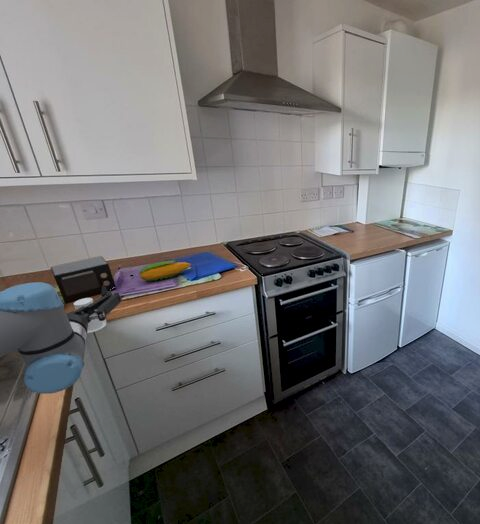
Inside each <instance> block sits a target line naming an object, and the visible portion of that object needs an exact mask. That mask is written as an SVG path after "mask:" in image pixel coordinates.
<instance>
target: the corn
mask: <svg viewBox="0 0 480 524" xmlns="http://www.w3.org/2000/svg"><path fill="white" fill-rule="evenodd" d="M191 265H192V264H191V263H189V262H185V261H183V262H182V261H181V262H177V260H165V261H160V262H156V263H152V264H148V265H146V266H144V267H143V268H142V269H141V270H140V272H139V277H140V279H142V280H143V281H147V282H155V281H160V280H164V279H163V278H165V279H169V278H173V277H176V276H177V275H178V274H180V273H182V272H184V271H186V270H188V269H189V268H191ZM168 277H169V278H168ZM158 279H160V280H158ZM153 280H154V281H153Z"/></svg>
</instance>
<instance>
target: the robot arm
mask: <svg viewBox="0 0 480 524" xmlns="http://www.w3.org/2000/svg"><path fill="white" fill-rule="evenodd" d="M100 296H101V297H99V298H98V299H96V300H93V303H91V304H89V305H88V306H86V307H85V306H82V307H81V308H79V309H77V310H76V309H75V310H72V311H70V312H66V309H65V305H64V303H63V302H64V301H62V300H61V298H60V296H59V293H58V292H57V290H56V289H55V287H54V286H53V285H51V284H50V283H46V282H40V281H38V282H37V281H36V282H26V283H21V284H17V285H13V286H10V287H8V288H5V289H4V290H1V291H0V358H1V357H4V356H6V355H8V354H10V353H13V352H14V351H16V350H17V351H18V353H19V354H20V356H21V358H22V360H23V362H24V363H25V366H26V368H25V369H24V372H23V382H24V386H25V387H26V388H27V389H28V390H30V391H31V392H32V393H33V392H34V393H36V394H44V395H49V394H56V393H59V392H62V391H65V390H66V389H69V388H71V387H72V386H73V385H74V384H76V383H77V381H78V380H79V379H80V377H81V375H82V371H83V369H84V367H85V353H86V352H85V351H86V344H87V335H88V333H87V330H88V323H90V322H91V320H94V319H99V321H104V320H105V319H106V320H107V316H108V315H109V314H110V313H111V312H112V311H113V310H114V309H116V308H117V306H118V305H120V304H121V303H122V297H121V295H120V293H119V292H115V293H113V291H112V290H111V291H107V288H106V285H103V286H102V293H101V295H100Z"/></svg>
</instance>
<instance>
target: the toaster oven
mask: <svg viewBox="0 0 480 524" xmlns="http://www.w3.org/2000/svg"><path fill="white" fill-rule="evenodd" d="M50 270H51V273H52V275H53V278H54V280H55V283H56V285H57V287H58V290H59V292H60V295H61V297H62V299H63V302H64V303H65V304H66V303H67V304H68V303H69V304H70V303H72V302H76V301H78V300H80V299H84V298H91V297H93V296H97V295H100V294H101V293H102V286H103V285H106V288H107V291H111V292H112V291H115V290H116V289H117V285H116V282H115V280H114V276H113V274H112V270H111V267H110V265H109V263H108V261H106V260H105V258H104V257H103V256H101V255H98V256H94V257H89V258H84V259H80V260H75V261H70V262H66V263H65V262H64V263H60V264H56V265H52V266H50ZM113 287H116V288H115V289H112V288H113ZM110 289H111V290H110Z"/></svg>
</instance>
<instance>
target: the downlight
mask: <svg viewBox="0 0 480 524" xmlns="http://www.w3.org/2000/svg"><path fill="white" fill-rule="evenodd" d="M93 302H94V300H93V298H92V297H86V298H83V299H79V300H76V301H73V307H74V308H75V310H77V309H79V308H81V307H82V306H85V307H86V306H88V305H89V304H91V303H93ZM106 326H107V318H106V319H105V320H103V321H99V319H94V320H91V322H90V323H88V330H87V334H92V333H95V332H98V331H100V330H102V329H103V328H105V327H106Z"/></svg>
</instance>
